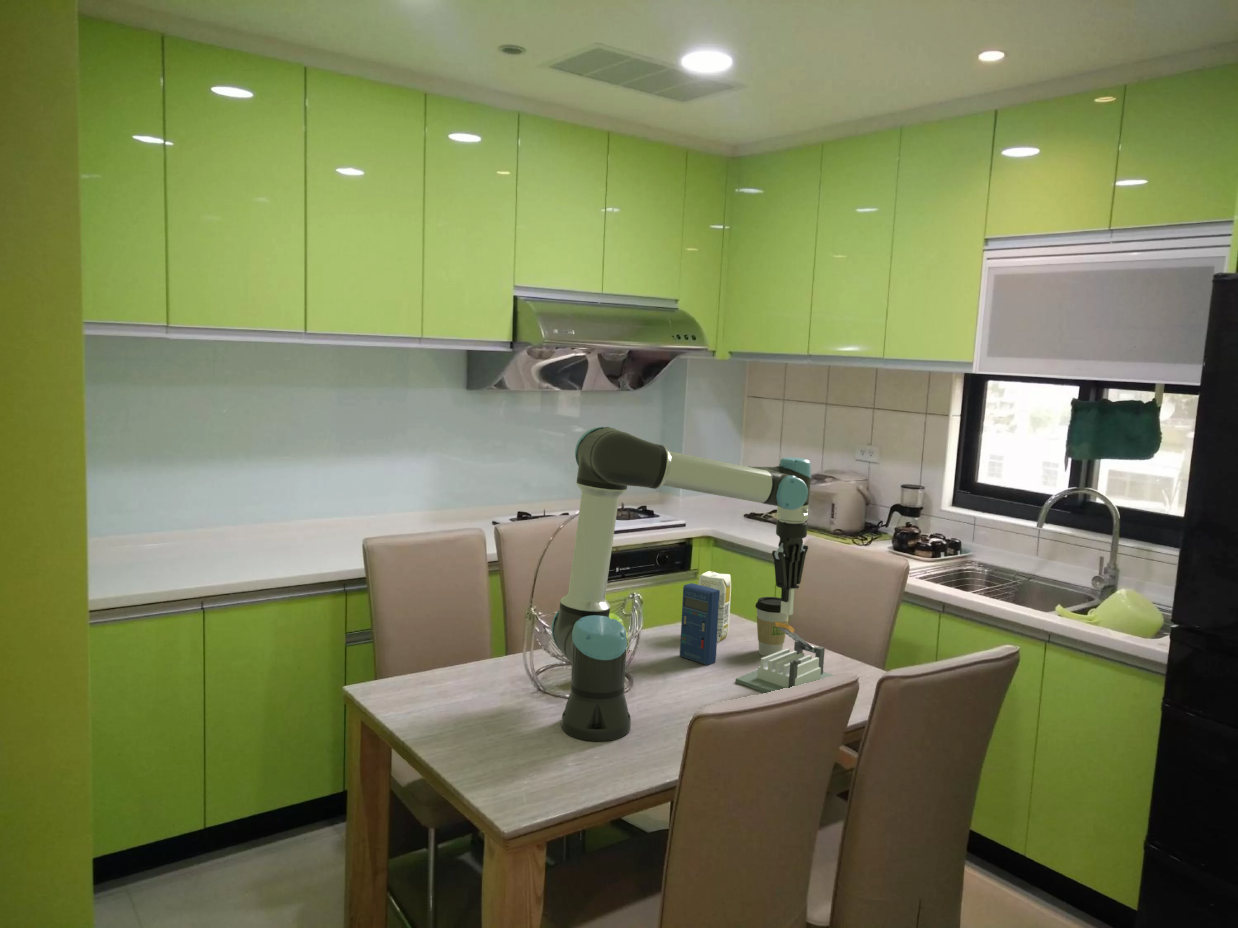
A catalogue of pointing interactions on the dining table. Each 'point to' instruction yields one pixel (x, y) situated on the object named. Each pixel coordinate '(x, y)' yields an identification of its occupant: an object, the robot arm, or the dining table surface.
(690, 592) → the electronic device
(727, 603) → the juice carton
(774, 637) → the coffee cup
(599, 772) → the dining table surface
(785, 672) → the heatsink base
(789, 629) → the lever
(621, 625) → the robot arm
